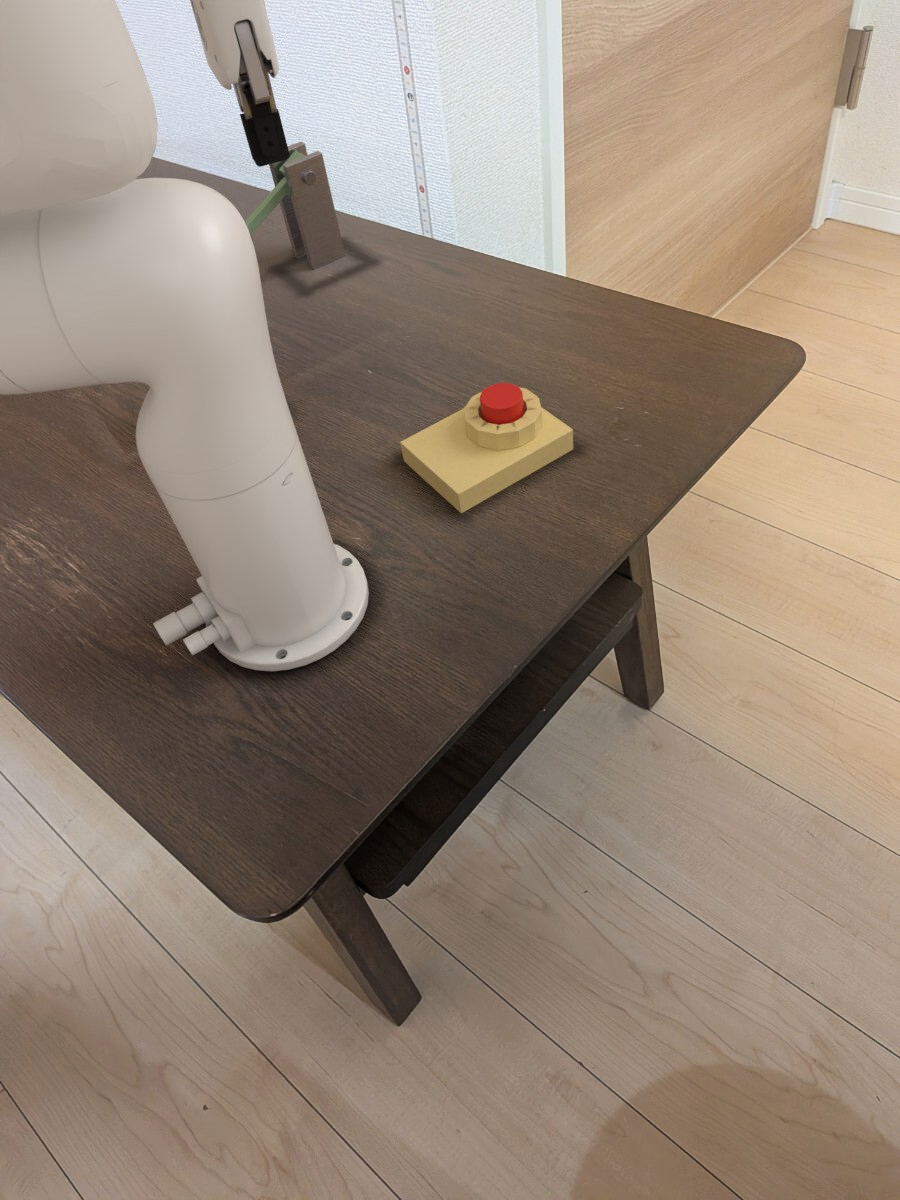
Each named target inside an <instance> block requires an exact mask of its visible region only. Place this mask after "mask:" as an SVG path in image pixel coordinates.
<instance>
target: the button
mask: <svg viewBox="0 0 900 1200" xmlns="http://www.w3.org/2000/svg"><path fill="white" fill-rule="evenodd" d="M519 387H520V386H518V385H516V384H513V383H510V382H498V383H494V384H491V385H489V386H487V387H485V388H484V389H483V390H482V391H481V392H482V393H481V395H480V404H481V413H482V417H483V419H484V420H485V421H486V422H488V423H492V424H497V425H501V424H507V423H513V422H515V421H516V420H518V419H520V418H521V416H522V415H523V412H524V407H523V393H522V391H521V389H520V388H521V387H520V388H519Z"/></svg>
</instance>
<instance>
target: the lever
mask: <svg viewBox="0 0 900 1200" xmlns="http://www.w3.org/2000/svg"><path fill="white" fill-rule="evenodd" d="M303 156H305V155H303V154H301V153H299V152H298V151H295V152H294V153H293V154H292V155H291V156H290V157H289V158H288V160H287V161H286V162H285V163H288V162H291V161H293V160H296V159H298V158H301V157H303ZM285 163H284V164H285ZM279 171H280V172H281V173H282V174H283V176H284V178H283V179H282V180H281V181H280V182H279V183H278V184H277V185H276V187H275V186H274V188H272V190H271V191H270V192H269V193H268V194H267V196H266V197H265V198H264V199H263V200H262V201H261V203H260V204H258V206H257V207H256V208H255V209H254V210H253V212H251V214H250V215H249V216H248V217H247V219H246V220H244V221H245V223H246V226H247V228H248V230H249V233H250V236H251V239H252V242H253V241H254V240H253V236H252V235H253V233H255V231H256V230H257V229H258V228H259V227H260V225H262V223H263V222H264V221H265V220H266V219H267V217H268V216H269V215H270V214H271V213H272V212H273V211H274V210H275V209H276V207H277V206H278V205H280V201H281V200H282V199H283V198H284V197H285V196H286V195H287V194H288V192H289V188H288V184H287V180H286V176H285V173H284V169H283V165H282V166H281V168H280V169H279ZM253 243H254V242H253Z"/></svg>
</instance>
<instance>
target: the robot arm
mask: <svg viewBox="0 0 900 1200" xmlns="http://www.w3.org/2000/svg"><path fill="white" fill-rule="evenodd" d="M189 3H190V5H191V9H192V13H193V15H194V19H195V23H196V27H197V30H198V33H199V38H200V41H201V44H202V48H203V53H204V56H205V60H206V62H207V66H208V67H209V69H210V70H211V72H212V74H213V75H214V77H215V79H216V80H217V82H218V84H220V86H221V87H223V88H224V89H225V90H228V91H229V90H232V89H233V91H234V94H235V97H236V100H237V104H238V107H239V111H240V112H241V113H240V114H239V117H240V121H241V123H242V128H243V130H244V134H245V138H246V141H247V144H248V148H249V152H250V155H251V158H252V160H253V161H254V164H255V165H256V166H257V167H259V168H261V167H265V166H269V164H272V163H276V162H279V161H283V160H287V159H288V158H289V156H290V154H289V150H288V146H289V145H288V142H287V139H286V135H285V131H284V126H283V123H282V122H283V121H282V119H281V115H280V110H279V109H278V108H277V104H276V100H275V96H274V92H273V91H274V90H273V86H272V83H271V78H273V79H274V78H276V77H277V75H278V73H279V71H280V67H279V60H278V56H277V51H276V47H275V42H274V37H273V33H272V29H271V24H270V20H269V16H268V12H267V7H266V4H265V0H189ZM117 4H118V3H117V2H116V0H0V395H2V396H4V395H5V396H7V395H9V396H10V395H13V396H14V395H26V394H36V393H37V394H39V393H45V392H54V391H55V392H56V391H60V390H68V389H76V388H83V387H84V388H85V387H92V386H99V385H106V384H107V385H116V384H124V383H125V384H126V383H141V384H144V385H147V386H148V387H149V388H148V391H147V392H146V394H145V397H144V399H143V401H142V405H141V407H140V410H139V412H138V416H137V420H136V425H135V426H136V427H135V443H136V449H137V452H138V457H139V459H140V461H141V463H142V466H143V468H144V470H145V472H146V474H147V476H148V478H149V480H150V482H151V483H152V485H153V486H154V488H155V489H156V492H157V494H158V495H159V497H160V499H161V501H162V503H163V505H164V507H165V509H166V510H167V513H168V515H169V516H170V519H171V520H172V522H173V524H174V526H175V528H176V529H177V532H178V533H179V535H180V537H181V539H182V541H183V543H184V545H185V546H186V548H187V550H188V552H189V555H190V557H191V558H192V560H193V562H194V563H195V565H196V567H197V569H198V571H199V573H200V575H201V576H199V577H198V578H196V582H197V584H198V586H199V588H200V590H201V592H198V594H196V595H194V596H192V597H190V600H191V602H192V603H190V604H189V605H187V606H185V607H183V608H181V609H179V610H177V611H173V612H171V613H169V614H167V615H165V616H163V617H161V618H160V619H158V620H156V621H154V622H152V624H153V627H154V628H155V630H156V632H157V633H158V635H159V637H160V638H161V640H162V641H163V643H164V645H165V646H169V645H171V644H173V643H175V642H176V641H178V640H180V639H182V638H183V637H185V636H187V635H188V634H189V633H190V632H191V631H193V630H194V629H196V628H198V627H200V626H202V625H204V624H205V628H202V629H201V630H197V631H196V632H194V633H192V634H190V635H188V636H187V637H185V638H183V639H182V641H183V643H184V644H185V646H186V647H187V650H188V651H189V652H190V654H191V656H192V657H193V656H195V655H196V654H198V653H199V652H202V651H203V650H205V649H207V648H209V646H210V645H212V644H213V646H215V648H216V649H217V650H218V652H219V654H221V655H222V656H223V657H225V658H226V659H227V660H228V661H230V662H231V663H234V664H236V665H238V666H240V667H242V668H245V669H250V670H254V671H262V672H279V671H290V670H293V669H296V668H301V667H305V666H307V665H309V664H312V663H314V662H317V661H318V660H319V661H320V660H321V659H322V658H325V657H326V656H328V655H329V654H331V653H333V652H334V651H336V650H337V649H339V648H340V646H342V645H343V644H344V643H346V642H347V640H348V639H349V638H350V637H351V636H352V635H353V634H354V633H355V632H356V630H357V629H358V627H359V625H360V624H361V622H362V621H363V619H364V616H365V615H366V611H367V608H368V605H369V595H370V591H369V583H368V580H367V577H366V574H365V571H364V568H363V567H362V565H361V563H360V562H359V560H358V559H357V558H356V557H355V556H354V555H353V554H352V553H351V552H350V551H349V550H347V549H345V548H343V546H340V545H339V544H336V543H334V541H333V537H332V535H331V532H330V529H329V526H328V523H327V520H326V517H325V513H324V510H323V508H322V505H321V502H320V498H319V496H318V492H317V490H316V486H315V483H314V480H313V477H312V475H311V471H310V468H309V465H308V463H307V458H306V456H305V453H304V450H303V447H302V445H301V441H300V438H299V435H298V433H297V429H296V426H295V424H294V420H293V417H292V414H291V411H290V407H289V405H288V402H287V398H286V396H285V392H284V389H283V385H282V382H281V378H280V375H279V371H278V367H277V364H276V360H275V356H274V352H273V347H272V342H271V337H270V332H269V325H268V321H267V314H266V307H265V301H264V295H263V288H262V287H263V286H262V281H261V274H260V268H259V263H258V258H257V254H256V249H255V246H254V242H252V239H253V238H252V239H251V236H250V233H249V230H248V228H247V226H246V223H245V221H246V220H244V218H243V216H242V214H241V213H240V212H239V210H238V209H237V208H236V206H235V205H234V204H233V203H232V202H231V201H230V200H229V199H228V198H227V197H225V195H223V194H222V193H220V192H219V191H217V190H216V189H213V188H212V187H209V186H207V185H205V184H202V183H199V182H196V181H193V180H188V179H183V178H182V179H181V178H172V177H147V178H138V177H139V176H141V175H142V174H143V173H144V172H145V171H146V170H147V168H149V165H150V163H151V162H152V159H153V156H154V154H155V152H156V148H157V143H158V119H157V112H156V111H157V110H156V105H155V101H154V98H153V95H152V91H151V88H150V85H149V82H148V79H147V76H146V73H145V70H144V67H143V65H142V63H141V60H140V57H139V55H138V52H137V50H136V47H135V44H134V43H133V40H132V37H131V35H130V32H129V30H128V27H127V24H126V23H125V21H124V18H123V16H122V14H121V11H120V9H119V7H118V5H117ZM270 77H271V78H270ZM232 87H233V88H232Z"/></svg>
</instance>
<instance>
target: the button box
mask: <svg viewBox="0 0 900 1200" xmlns="http://www.w3.org/2000/svg"><path fill="white" fill-rule="evenodd" d="M518 387H519V388H520V389H521V391H522V393H523V407H524V412H523V415H522V416H521V418H520V419H518V420H516V421H515V422H513V423H507V424H501V425H497V424H492V423H488V422H486V421H485V420H484V419H483V417H482V413H481V404H480V395H481V393H482V391H480V392H478V393H476V394H475V395H473V396H471V398H470V399H469V400H468V402H467V403H466V405H465V406H464V407H463V408H462V409H460V410H458V411H456V412H454V413H452V414H449V416H447V417H445V418H443V419H441V420H439V421H437V422H436V423H433V424H431V425H429V426H427V427H426V428H424V429H422V430H420V431H418V432H417V433H414V434H412V435H411V436H409V437H407V438H405V439H403V440H402V441H400V442H399V445H400V449H401V453H402V458H403V462H404V463H405V464H406V465H408V466H409V467H410V468H411V469H412V470H413V471H414V472H415V473H416V474H418V475H419V477H421V479H423V480H424V481H425V482H426V483H427V484H428V485H429V486H431V488H432V489H434V491H436V492H437V493H438V494H439V495H440V496H442V498H444V499H445V500H446V501H447V502H448V503H449V504H451V506H452V507H454V508H455V509H456V510H457V511H458V512H459V513H460V514H463V513H465V512H466V511H468V510H470V509H471V508H473V507H475V506H477V505H479V504H480V503H482V502H484V501H486V500H487V499H489V498H491V497H493V496H494V495H496V494H498V493H499V492H502V491H503V490H505V489H507V488H508V487H510V486H512V485H514V484H515V483H517V482H519V481H520V480H522V479H524V478H526V477H527V476H529V475H531V474H533V473H534V472H536V471H538V470H540V469H541V468H544V467H545V466H547V465H548V464H551V462H554V461H556V460H557V459H559V458H561V457H563V456H564V455H566V454H567V453H569V452H571V451H573V450H574V429H573V428H572V427H571V426H569V425H568V424H566V423H565V422H563V421H562V420H560V419H559V418H557V417H556V416H555V415H553V414H552V413H550V412H549V411H548V410H547V409H545V408H543V407H542V406H541V405H542V404H541V401H540V398H539V396H538V395H536V394H534V393H533V392H532V391H531V390H529V389H528V388H526V387H520V386H518Z"/></svg>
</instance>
